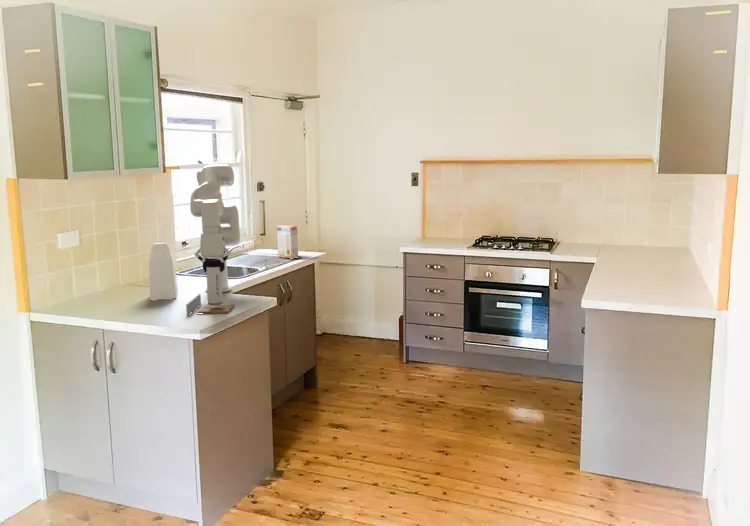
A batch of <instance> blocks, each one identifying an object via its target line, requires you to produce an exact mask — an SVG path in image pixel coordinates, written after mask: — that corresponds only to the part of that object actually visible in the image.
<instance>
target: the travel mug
mask: <svg viewBox="0 0 750 526" xmlns="http://www.w3.org/2000/svg"><path fill="white" fill-rule="evenodd" d="M205 261H206V264H207V265H206V270H207V271H206V288H207V292H206V293H207V305H223V304H224V303H223V300H224V299H223V292H222V274H221V271H220V263H221V260H219V259H208V258H206V259H205Z"/></svg>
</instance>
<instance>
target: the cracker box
mask: <svg viewBox="0 0 750 526" xmlns="http://www.w3.org/2000/svg"><path fill="white" fill-rule="evenodd" d="M276 229H277V230H276V231H277V233H276V234H277V251H278V252H277V256H278V258H279V257H282V258H281V259H284V258H295V257H298V258H299V245H298V244H299V243H298V242H299V241H298V239H299V238H298V226H296V225H288V224H280V225H277V226H276Z"/></svg>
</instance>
